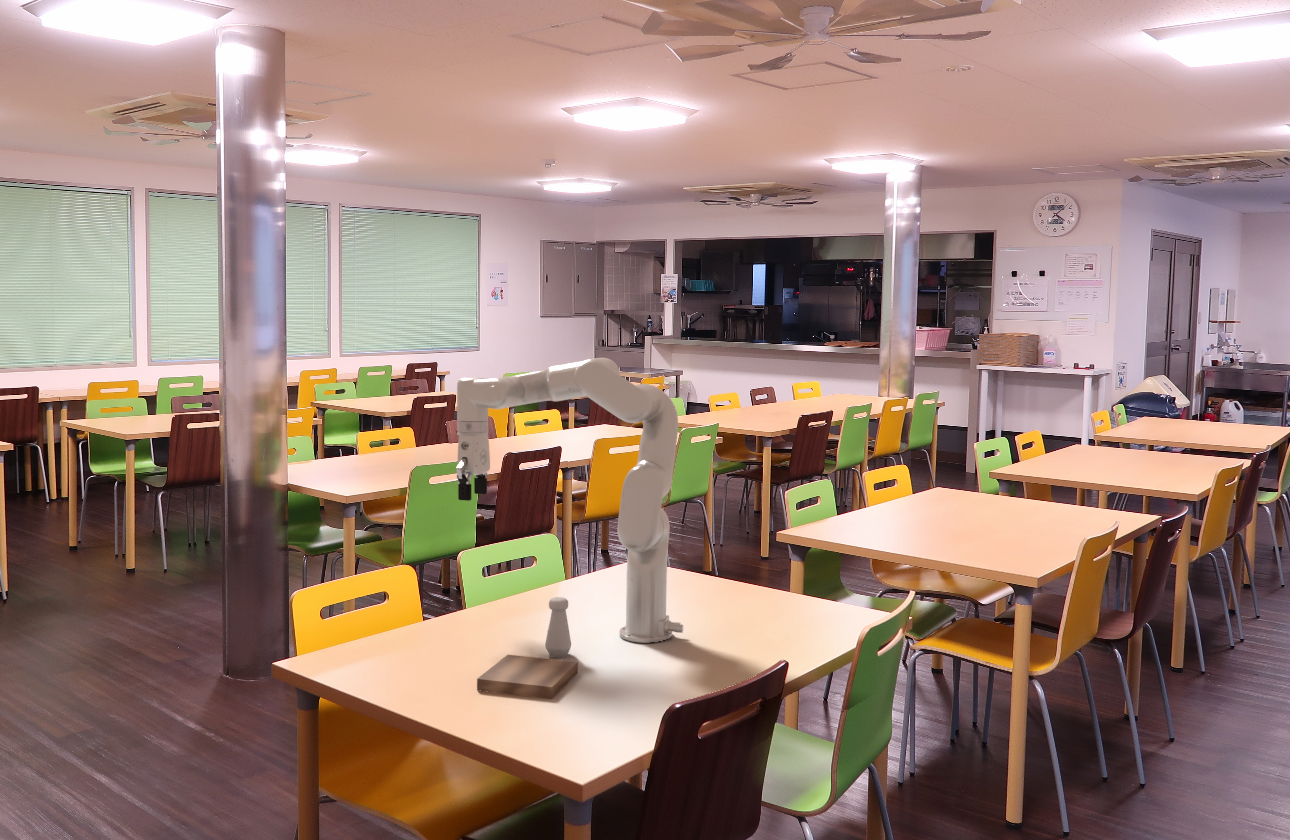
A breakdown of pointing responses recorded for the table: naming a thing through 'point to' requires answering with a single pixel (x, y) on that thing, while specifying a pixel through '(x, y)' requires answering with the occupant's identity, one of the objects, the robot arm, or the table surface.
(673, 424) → the robot arm
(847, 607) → the table surface
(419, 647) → the table surface
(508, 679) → the walnut base
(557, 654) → the salt shaker
